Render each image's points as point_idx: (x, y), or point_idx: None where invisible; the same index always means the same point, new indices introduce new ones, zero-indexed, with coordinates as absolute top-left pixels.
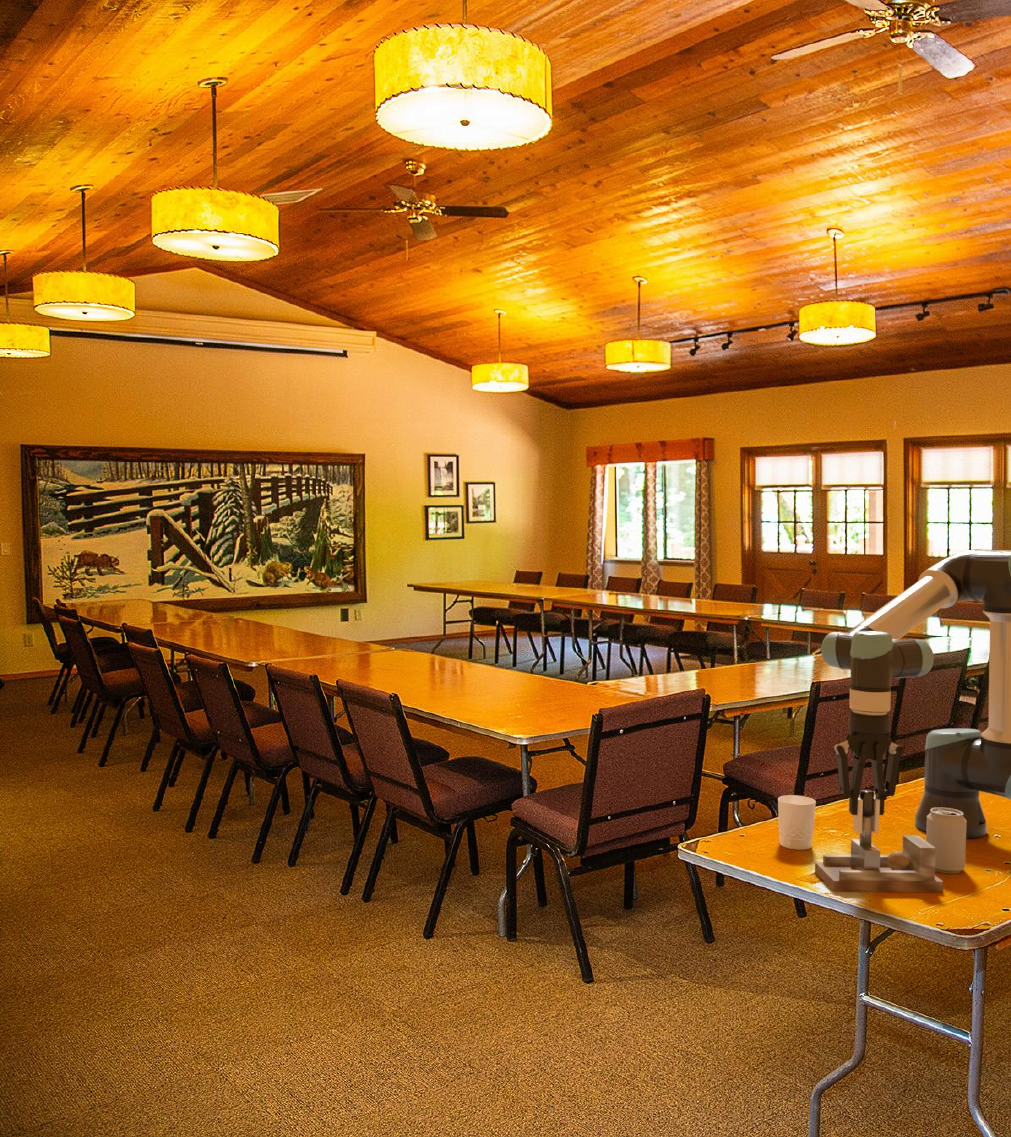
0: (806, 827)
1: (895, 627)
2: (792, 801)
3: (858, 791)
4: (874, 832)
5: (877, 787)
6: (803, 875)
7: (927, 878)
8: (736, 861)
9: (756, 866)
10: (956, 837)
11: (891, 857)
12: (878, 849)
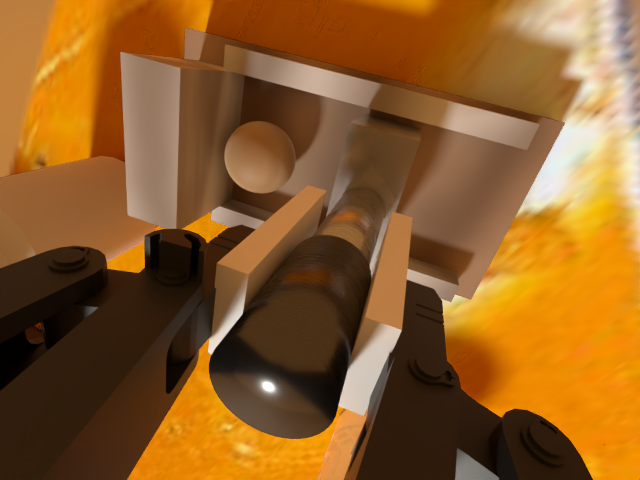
0: None
1: None
2: None
3: (401, 403)
4: (324, 198)
5: (152, 369)
6: (524, 273)
7: (219, 65)
8: (629, 421)
9: (606, 374)
10: (19, 176)
11: (281, 158)
12: (346, 139)
